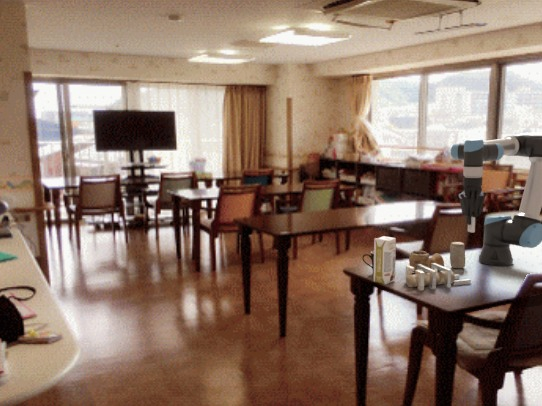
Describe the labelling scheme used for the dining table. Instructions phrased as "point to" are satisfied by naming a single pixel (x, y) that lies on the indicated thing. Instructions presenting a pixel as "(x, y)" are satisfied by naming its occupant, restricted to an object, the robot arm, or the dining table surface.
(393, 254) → the juice carton
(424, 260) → the pipe
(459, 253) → the carving
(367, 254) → the coffee mug
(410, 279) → the dowel
